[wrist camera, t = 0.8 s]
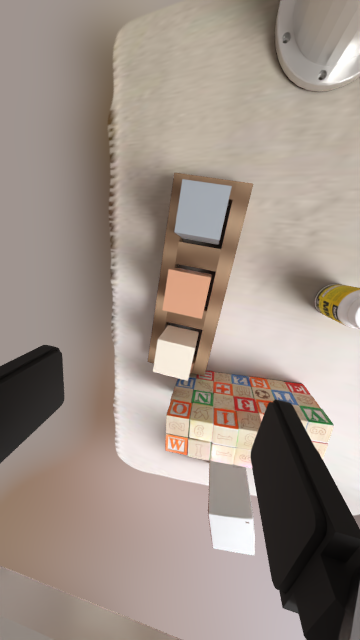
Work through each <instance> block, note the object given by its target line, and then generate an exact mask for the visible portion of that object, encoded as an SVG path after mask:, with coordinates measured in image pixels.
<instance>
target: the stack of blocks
mask: <svg viewBox="0 0 360 640" xmlns="http://www.w3.org/2000/svg"><path fill="white" fill-rule="evenodd" d="M275 399H277V400H281V401H285V402H289V403H291V404H292V405H293V407H294V409H295V411H296V412H297V414H298V416H299V418H300V420H301V422H302V424H303V426H304V428H305V429H306V431H307V433H308V435H309V437H310V439H311V441H312V443H313V445H314V446H315V448H316V449H317V451H318V452H319V454H320V456H321V458H322V460H323V457H324V454H325V451H326V449H327V446H328V441H329V439H330V436H331V433H332V430H333V427H334V425H333V423H332V422H331V420H330V419H329V418H328V416H327V415H326V414H325V412H324V411H323V410H322V409H321V408H320V407H319V405H318V404H317V402H316V401H315V399H314V398H313V397H312V395H310V393H309V392H308V390H307V389H306V387H305V386H304V385H303V384H298V383H290V382H284V381H279V380H271V379H264V378H257V377H250V376H249V377H247V376H240V375H233V374H232V375H231V374H224V373H217V372H212V371H206V372H205V376H201V375H198V374H194V373H191V374H189V378H188V381H187V380H183V379H179V378H178V380H177V383H176V386H175V388H174V391H173V394H172V397H171V403H170V406H169V409H168V412H167V415H166V444H165V450H166V451H169V452H174V453H179V454H184V455H188V457H192V458H197V459H202V460H208V461H209V460H211V461H214V462H220V463H225V464H230V465H232V464H234V465H237V466H243V467H248V468H252V463H251V448H252V446H253V443H254V440H255V438H256V435H257V432H258V430H259V427H260V424H261V421H262V419H263V416H264V413H265V411H266V408H267V405H268V403H269V402H273V401H274V400H275Z"/></svg>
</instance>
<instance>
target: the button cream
mask: <svg viewBox="0 0 360 640" xmlns="http://www.w3.org/2000/svg"><path fill="white" fill-rule="evenodd" d="M198 334H199V332H196V331H192V330H188V329H183V328H179V327H175V326H170V325H168V326H167V327H166V329H165V330H164V332H163V333H162V334H161V336H160V337H159V338H158V342H157V348H156V355H155V361H154V367H153V372H156V373H160V374H163V375H167V376H171V377H175V378H179V379H183V380H187V381H188V378H189V374H190V369H191V365H192V361H193V356H194V352H195V347H196V343H197V338H198Z"/></svg>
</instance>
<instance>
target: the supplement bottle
mask: <svg viewBox="0 0 360 640" xmlns="http://www.w3.org/2000/svg"><path fill="white" fill-rule="evenodd" d="M315 307H316V309H317V310H318V311H319V312H320V313H322V314H323V315H325V316H327V317H329V318H331V319H333V320H335V321H337V322H339V323H341V324H343V325H345V326H348V327H351V328H358V329H360V288H356V287H351V286H346V285H341V284H331V285H328V286H326V287H324V288H323V289H321V290H320V291H319V292H318V294H317V295H316V298H315Z"/></svg>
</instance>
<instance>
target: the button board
mask: <svg viewBox="0 0 360 640" xmlns="http://www.w3.org/2000/svg"><path fill="white" fill-rule="evenodd" d="M182 179H185V180H192V181H199V182H206V183H213V184H220V185H227V186H232V187H231V192H230V196H229V201H228V205H227V206H231V208H230V212H229V217H228V221H227V225H226V230H225V234H224V238H223V243H222V247H221V249H217V248H211V247H206V246H200V245H195V244H189V243H184V242H183V238H182V237H180V236H179V235H177V234H176V233H175V232H174V231H175V225H176V218H177V212H178V205H179V199H180V192H181V186H182ZM252 187H253V184H252V183H245V182H237V181H230V180H223V179H216V178H209V177H202V176H194V175H187V174H180V173H174V179H173V186H172V193H171V201H170V208H169V215H168V222H167V229H166V236H165V243H164V250H163V257H162V264H161V271H160V278H159V285H158V292H157V299H156V307H155V314H154V321H153V328H152V335H151V342H150V349H149V356H148V362H150V363H154V361H155V355H156V348H157V342H158V338H159V337H160V336H161V334H162V333H163V332H164V330H165V329H166V327H167V326H168V325H169V322H170V323H175V324H179V325H184V326H188V327H192V328H197V329H201V330H202V334H201V338H200V342H199V347H198V351H197V355H195V354H194V356H193V361H192V365H191V369H190V374H191V373H194V374H198V375H201V376H205V372H206V368H207V364H208V360H209V356H210V352H211V348H212V344H213V340H214V336H215V332H216V328H217V325H218V321H219V317H220V313H221V309H222V305H223V301H224V297H225V293H226V289H227V285H228V281H229V277H230V273H231V270H232V266H233V262H234V258H235V254H236V250H237V246H238V242H239V238H240V234H241V230H242V226H243V222H244V218H245V215H246V211H247V207H248V203H249V199H250V195H251V191H252ZM179 264H180V265H185V266H190V267H195V268H201V269H206V270H211V271H216V273H215V277H214V282H213V286H212V290H211V295H210V299H209V303H208V307H204V312H203V316H202V319H200V318H195V317H191V316H186V315H182V314H177V313H173V312H168V311H164V310H162V309H163V303H164V296H165V290H166V283H167V277H168V270H169V269H173V268H178V265H179Z"/></svg>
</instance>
